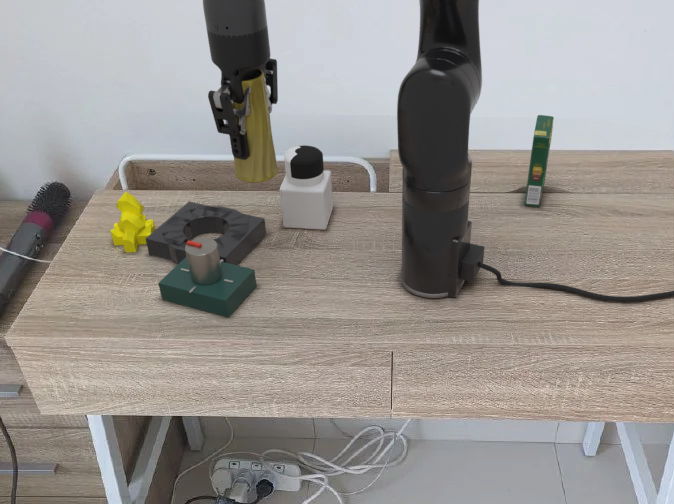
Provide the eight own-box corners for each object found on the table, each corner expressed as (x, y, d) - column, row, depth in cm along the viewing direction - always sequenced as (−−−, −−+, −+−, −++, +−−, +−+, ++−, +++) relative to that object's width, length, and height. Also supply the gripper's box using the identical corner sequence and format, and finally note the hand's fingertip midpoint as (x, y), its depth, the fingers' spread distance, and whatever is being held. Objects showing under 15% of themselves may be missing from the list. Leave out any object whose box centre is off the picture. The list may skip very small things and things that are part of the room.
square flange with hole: (268, 232, 126) (266, 216, 124) (225, 276, 116) (222, 260, 115) (194, 215, 130) (191, 199, 128) (146, 257, 120) (142, 240, 118)
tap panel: (258, 285, 115) (255, 267, 113) (227, 318, 109) (224, 300, 107) (193, 269, 118) (190, 251, 116) (160, 301, 112) (156, 283, 110)
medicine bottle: (333, 208, 132) (329, 141, 124) (326, 230, 126) (321, 163, 118) (291, 205, 132) (285, 139, 124) (282, 228, 127) (275, 160, 119)
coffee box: (540, 209, 132) (551, 136, 123) (523, 207, 132) (532, 134, 124) (544, 186, 138) (555, 115, 129) (528, 184, 138) (537, 113, 130)
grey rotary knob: (228, 270, 112) (222, 239, 109) (211, 287, 109) (205, 256, 106) (201, 264, 114) (195, 233, 110) (185, 280, 110) (178, 249, 107)
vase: (227, 179, 109) (210, 78, 100) (248, 160, 114) (234, 62, 104) (266, 186, 108) (253, 85, 98) (285, 167, 112) (275, 68, 103)
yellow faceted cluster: (111, 253, 121) (99, 209, 116) (121, 225, 127) (110, 182, 122) (150, 251, 121) (139, 207, 116) (158, 224, 127) (148, 181, 122)
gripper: (233, 45, 91) (251, 176, 102) (290, 8, 101) (301, 131, 112) (178, 37, 93) (201, 166, 104) (239, 2, 103) (255, 123, 114)
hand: (253, 147), depth 108 cm, fingers closed on vase, 5 cm apart
